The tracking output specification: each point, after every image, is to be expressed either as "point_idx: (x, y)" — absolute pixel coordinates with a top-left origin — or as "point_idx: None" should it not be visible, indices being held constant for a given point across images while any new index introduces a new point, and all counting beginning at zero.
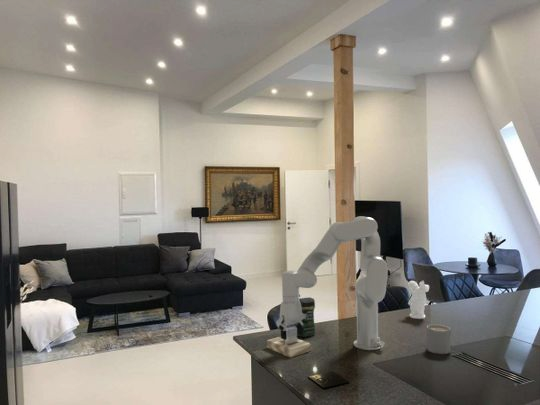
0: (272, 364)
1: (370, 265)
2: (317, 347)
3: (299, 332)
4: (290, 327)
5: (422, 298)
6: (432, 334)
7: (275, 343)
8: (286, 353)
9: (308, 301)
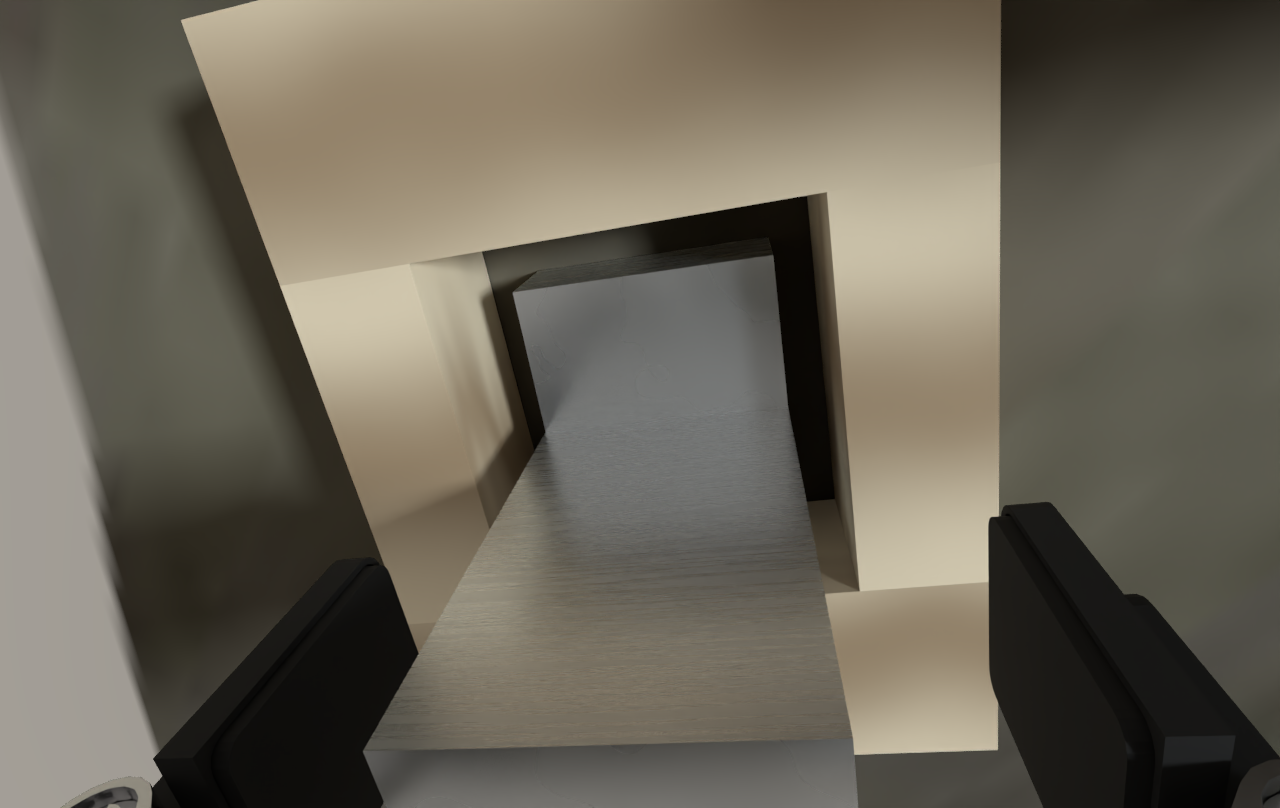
0: (192, 698)
1: None
2: (1215, 566)
3: (1007, 651)
4: (657, 758)
5: None
6: None
7: (312, 372)
8: None
9: None
